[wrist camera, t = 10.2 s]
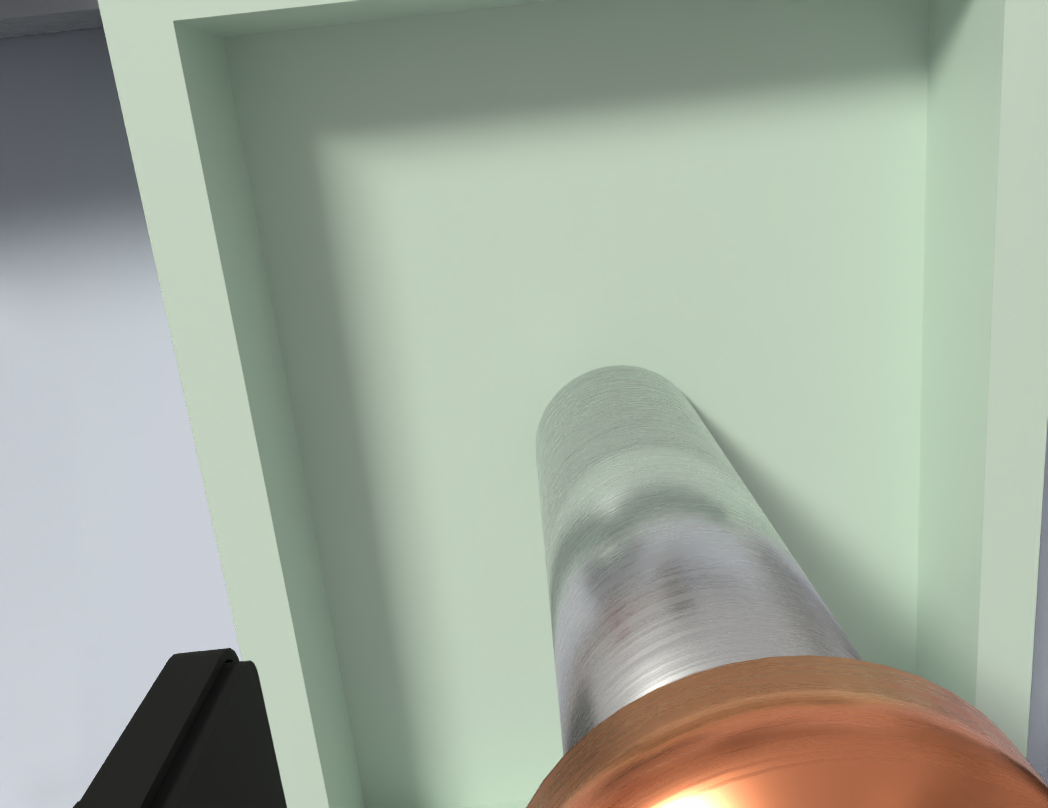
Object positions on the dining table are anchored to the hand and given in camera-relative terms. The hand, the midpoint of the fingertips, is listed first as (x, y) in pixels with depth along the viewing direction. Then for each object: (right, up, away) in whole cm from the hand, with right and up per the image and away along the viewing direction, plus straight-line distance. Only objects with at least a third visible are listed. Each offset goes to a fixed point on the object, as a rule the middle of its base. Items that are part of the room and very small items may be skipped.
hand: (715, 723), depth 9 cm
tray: (0, +3, +9) cm, 10 cm away
